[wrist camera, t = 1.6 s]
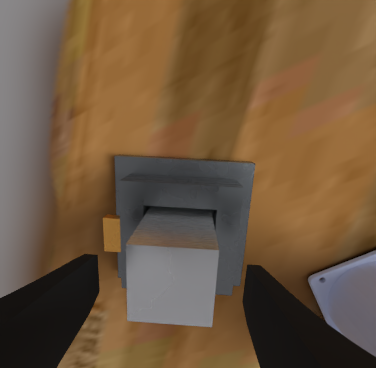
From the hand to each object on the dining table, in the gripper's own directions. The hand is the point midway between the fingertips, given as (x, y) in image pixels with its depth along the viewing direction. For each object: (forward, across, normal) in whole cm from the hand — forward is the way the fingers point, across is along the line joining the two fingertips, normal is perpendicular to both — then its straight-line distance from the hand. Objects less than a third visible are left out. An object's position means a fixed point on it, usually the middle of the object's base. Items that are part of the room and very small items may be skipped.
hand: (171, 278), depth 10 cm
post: (+6, 0, 0) cm, 6 cm away
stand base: (+7, 0, 0) cm, 7 cm away
